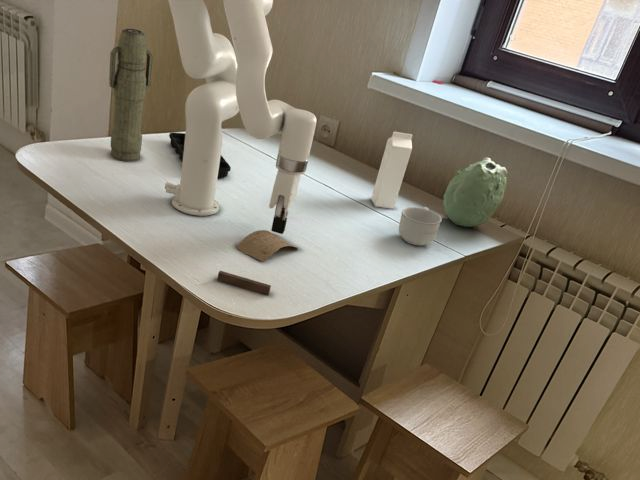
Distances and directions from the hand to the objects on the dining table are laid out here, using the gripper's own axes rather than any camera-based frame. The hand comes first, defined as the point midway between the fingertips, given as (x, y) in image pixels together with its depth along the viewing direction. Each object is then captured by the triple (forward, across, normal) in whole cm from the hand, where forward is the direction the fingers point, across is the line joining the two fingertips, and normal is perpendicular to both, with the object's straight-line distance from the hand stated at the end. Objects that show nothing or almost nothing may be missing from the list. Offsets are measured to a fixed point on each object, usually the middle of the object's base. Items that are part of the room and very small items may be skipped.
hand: (277, 231), depth 175 cm
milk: (+2, -43, +23) cm, 49 cm away
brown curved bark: (+2, +8, 0) cm, 9 cm away
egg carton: (+2, -37, -35) cm, 51 cm away
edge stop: (+1, +30, 0) cm, 30 cm away
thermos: (+2, -25, -54) cm, 60 cm away
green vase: (+2, -44, +48) cm, 65 cm away
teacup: (+2, -23, +35) cm, 42 cm away
